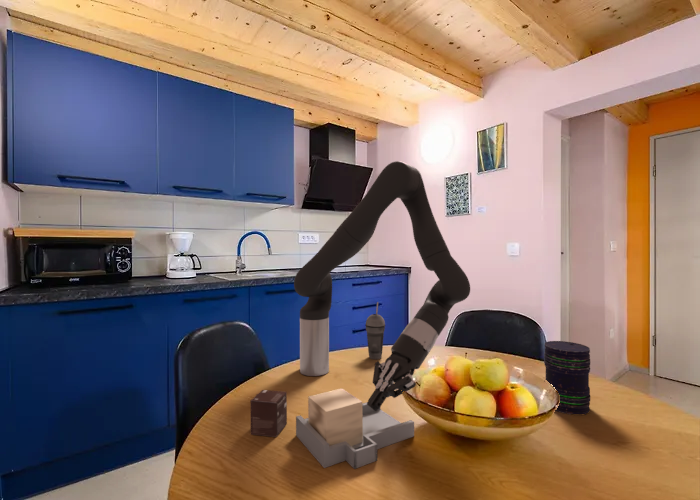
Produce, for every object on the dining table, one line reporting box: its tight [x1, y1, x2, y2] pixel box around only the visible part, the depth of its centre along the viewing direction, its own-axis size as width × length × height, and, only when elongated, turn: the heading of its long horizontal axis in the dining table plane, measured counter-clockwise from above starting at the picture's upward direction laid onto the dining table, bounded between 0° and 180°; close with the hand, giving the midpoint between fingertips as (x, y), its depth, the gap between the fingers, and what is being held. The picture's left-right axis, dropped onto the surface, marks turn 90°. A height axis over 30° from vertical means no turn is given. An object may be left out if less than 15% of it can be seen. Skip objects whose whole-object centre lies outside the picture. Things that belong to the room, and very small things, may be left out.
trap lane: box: [295, 401, 415, 470], centre depth 75 cm, size 19×21×4 cm
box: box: [250, 389, 288, 438], centre depth 78 cm, size 6×6×7 cm
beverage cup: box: [364, 301, 386, 360], centre depth 129 cm, size 7×7×20 cm
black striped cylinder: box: [543, 340, 591, 415], centre depth 89 cm, size 10×10×15 cm
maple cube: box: [307, 387, 363, 446], centre depth 72 cm, size 8×8×8 cm
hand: (371, 407), depth 77 cm, fingers closed
